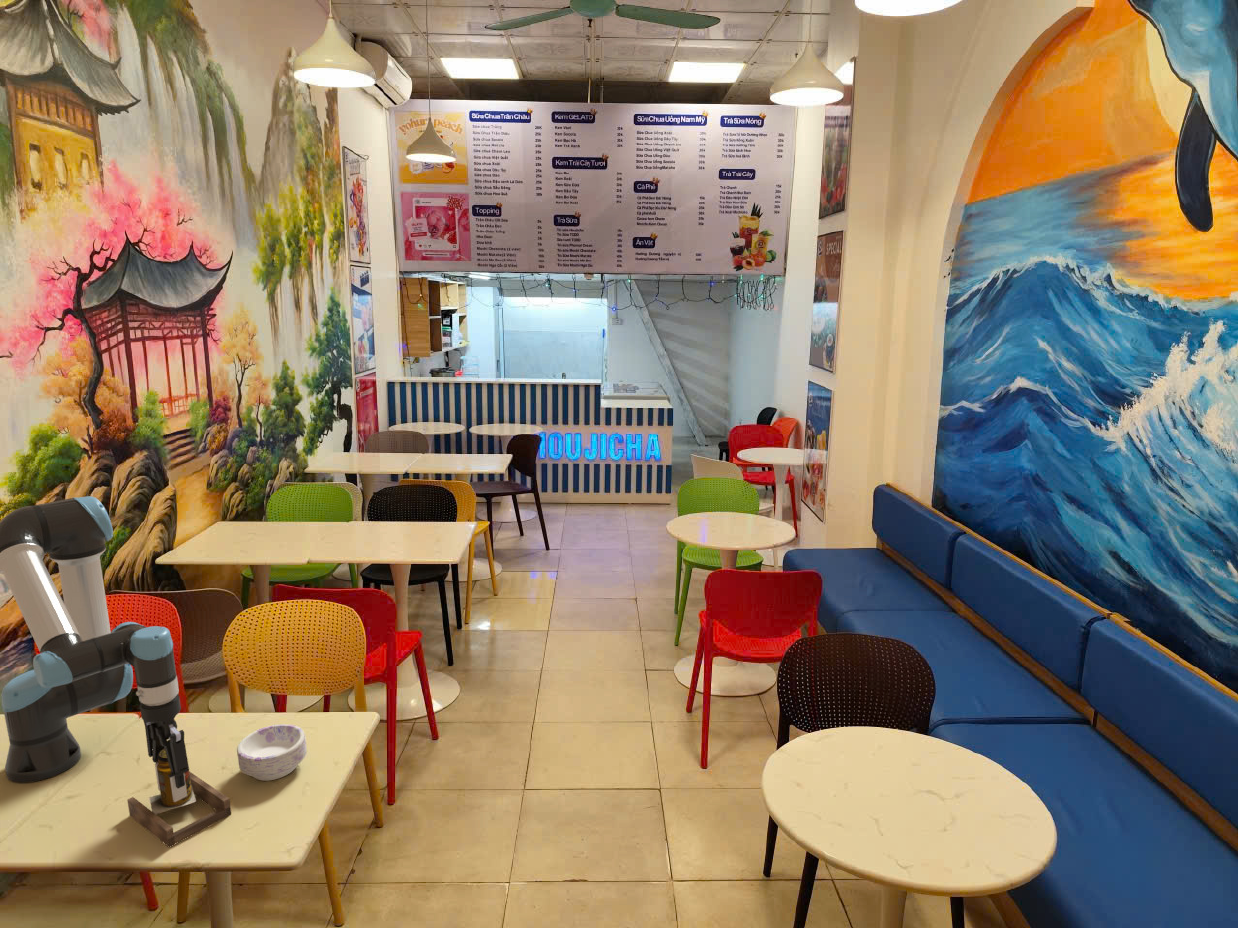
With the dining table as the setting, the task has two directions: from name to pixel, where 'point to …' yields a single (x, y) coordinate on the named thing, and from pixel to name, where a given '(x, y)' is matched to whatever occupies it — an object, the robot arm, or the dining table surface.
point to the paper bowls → (272, 751)
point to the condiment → (169, 788)
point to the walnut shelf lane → (170, 838)
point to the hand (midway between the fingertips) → (172, 792)
